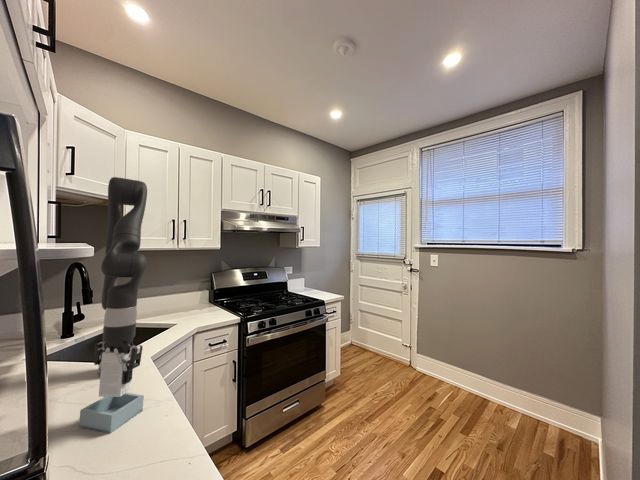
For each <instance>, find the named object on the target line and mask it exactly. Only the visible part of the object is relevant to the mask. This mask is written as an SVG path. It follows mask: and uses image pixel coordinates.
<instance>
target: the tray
mask: <svg viewBox="0 0 640 480" xmlns="http://www.w3.org/2000/svg"><path fill="white" fill-rule="evenodd" d="M143 407H144V395H143V394H142V395H141V394H136V393H130V392H126V393H125V394H123V395H122V396H121V397H101V398H100V399H97V400H96V401H94V402H92V403H91V404H89V405H87V406H85V407H83V408H82V409H80V410H79V422H78V428H80V429H84V430H85V429H86V430H92V431H97V432H102V433H107V434H112V433H113V432H114V431H116V430H117V429H119V428H121V427H122V426H123V425H124V424H126V423H128V422H129V421H130V420H132V419H134V418H135V417H136V416H138V415H139V414H140V413H142V412H143V411H144V409H143ZM137 414H138V415H137ZM134 416H135V417H134ZM131 418H132V419H131Z"/></svg>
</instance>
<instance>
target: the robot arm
mask: <svg viewBox="0 0 640 480" xmlns="http://www.w3.org/2000/svg"><path fill="white" fill-rule="evenodd" d="M147 198H148V187H147V183H145V182H143V181H140V180H138V179H137V180H136V179H130V178H124V177H118V176H113V177H111V178H110V179H109V181H108V186H107V229H106V231H107V232H106V239H105V256H104V258H103V260H102V263H101V265H100V266H101V267H100V268H101V269H100V270H101V272H102V274H103V275H104V278H103V279H104V280H103V285H102V286H103V287H102V293H101V308H102V309H103V310H105V313H104V317H103V327H102V341H100V342H98V343H95V344H94V349H93V350H94V351H93V352H94V353H93V357H94V358H93V364H94V366H97V365H98V369H97V370H98V371H97V374H98V375H100V374H101V362H102V353H103V352H111V351H112V352H114V353H115V355H117V359H118V361H119V364H122V363H123V370H124V371H123V376H122V384H127V383H129V382H130V381H131V382H132V379H133V371H134V370H133V369H136V368H138V367H139V366H140V365H141V360H142V354H143V347H144V346H143V345H142V344H140V345H134V343H133V340H134V338H135V337H136V332H137V331H136V329H137V317H138V310H137V304H138V295H139V294H138V293H139V288H140V285H141V281H142V279H143V276H144V274H145V273H146V270H147V266H148V260H147V258H146V256H145V255H143V254H141V253H137V251H138V250H140V247H141V240H142V239H141V238H142V237H141V236H142V224H143V219H144V216H145V210H146V204H147V200H148V199H147ZM120 205H123V206H131V207H133V208H131V210H130V211H128V212H126V214H125V215H123V214H122V212H121V208H120ZM119 278H130V280H129V281H128V282H127V283H124V284H120V285H119V284H118V285H115V283H116V281H117V280H118V279H119ZM120 353H125V355H126V353H127V354H129V353H130V355H129V358H127V359H123V358H122V356H121V354H120ZM127 361H128V364H129V365H127V363H126V362H127Z"/></svg>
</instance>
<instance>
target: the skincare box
mask: <svg viewBox="0 0 640 480" xmlns="http://www.w3.org/2000/svg"><path fill="white" fill-rule="evenodd" d="M120 354H121V356H122V358H123V359H127V358H129V355H130V353H129V354H127V353H126V355H125V353H120ZM126 363H127V365H129V364H128V361H127V362H126ZM123 371H124V370H123V363H122V364H119V361H118V359H117V355H115V353H114V352H112V351H111V352H103V353H102V362H101V374H99V387H98V388H99V389H98V397H100V398H103V397H121V396H122V395H123V394H125V393H128V391H130V390H131V382H132V380H131V381H130V382H129V383H127V384H122V376H123Z"/></svg>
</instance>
